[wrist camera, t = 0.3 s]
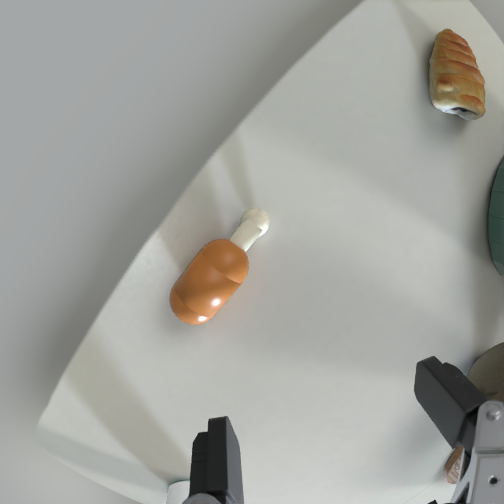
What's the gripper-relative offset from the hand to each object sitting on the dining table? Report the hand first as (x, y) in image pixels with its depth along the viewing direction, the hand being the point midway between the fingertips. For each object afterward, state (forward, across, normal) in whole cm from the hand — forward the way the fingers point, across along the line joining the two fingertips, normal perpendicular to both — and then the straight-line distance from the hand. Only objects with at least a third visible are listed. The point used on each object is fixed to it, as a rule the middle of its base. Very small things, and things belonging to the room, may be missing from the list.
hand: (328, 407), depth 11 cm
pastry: (+16, -21, -15) cm, 31 cm away
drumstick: (+16, +4, -2) cm, 17 cm away
